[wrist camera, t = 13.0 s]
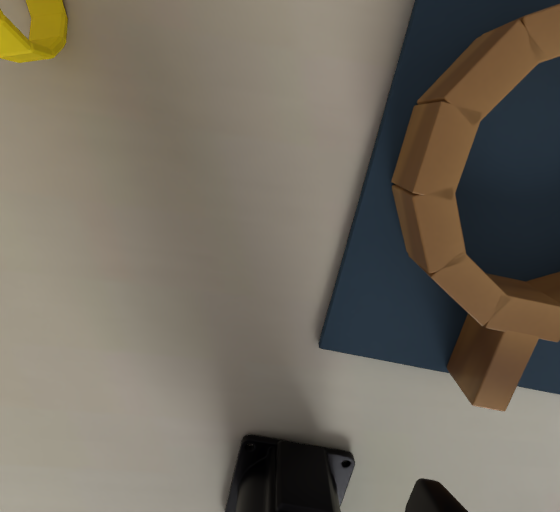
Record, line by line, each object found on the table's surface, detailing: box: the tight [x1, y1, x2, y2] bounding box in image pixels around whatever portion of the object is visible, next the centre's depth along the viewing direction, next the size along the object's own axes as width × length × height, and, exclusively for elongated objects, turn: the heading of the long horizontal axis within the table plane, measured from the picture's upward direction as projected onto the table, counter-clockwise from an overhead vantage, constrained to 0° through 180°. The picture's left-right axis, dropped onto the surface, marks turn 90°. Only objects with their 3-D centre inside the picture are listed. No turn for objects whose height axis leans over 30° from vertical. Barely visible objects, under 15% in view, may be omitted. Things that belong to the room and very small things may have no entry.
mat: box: [319, 0, 560, 394], centre depth 18 cm, size 20×15×1 cm
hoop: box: [391, 4, 560, 411], centre depth 17 cm, size 17×13×3 cm
